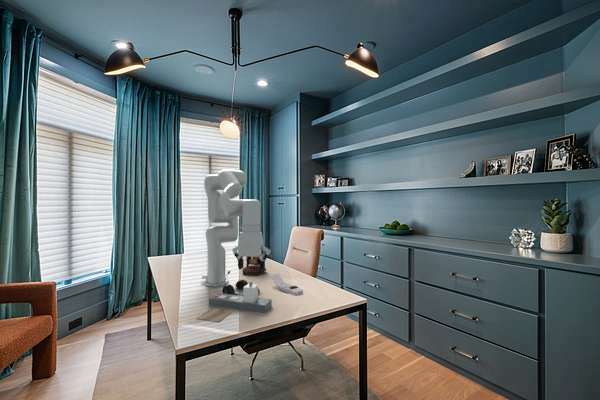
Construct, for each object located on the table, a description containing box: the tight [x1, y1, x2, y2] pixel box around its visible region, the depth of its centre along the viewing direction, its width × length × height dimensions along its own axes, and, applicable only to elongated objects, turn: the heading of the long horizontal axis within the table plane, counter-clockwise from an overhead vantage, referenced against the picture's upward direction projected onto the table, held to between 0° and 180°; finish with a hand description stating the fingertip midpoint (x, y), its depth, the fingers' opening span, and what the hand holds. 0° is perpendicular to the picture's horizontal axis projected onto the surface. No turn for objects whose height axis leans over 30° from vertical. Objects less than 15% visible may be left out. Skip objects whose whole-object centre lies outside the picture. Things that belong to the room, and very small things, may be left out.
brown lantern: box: [241, 256, 267, 276], centre depth 170 cm, size 15×15×20 cm
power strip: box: [208, 292, 272, 314], centre depth 115 cm, size 26×7×4 cm, turn 74°
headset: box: [221, 270, 261, 296], centre depth 131 cm, size 14×10×20 cm
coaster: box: [195, 307, 234, 323], centre depth 106 cm, size 10×10×1 cm
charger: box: [242, 281, 259, 303], centre depth 114 cm, size 5×5×11 cm
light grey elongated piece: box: [269, 273, 304, 296], centre depth 138 cm, size 6×6×25 cm
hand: (251, 269), depth 113 cm, fingers open, 9 cm apart
